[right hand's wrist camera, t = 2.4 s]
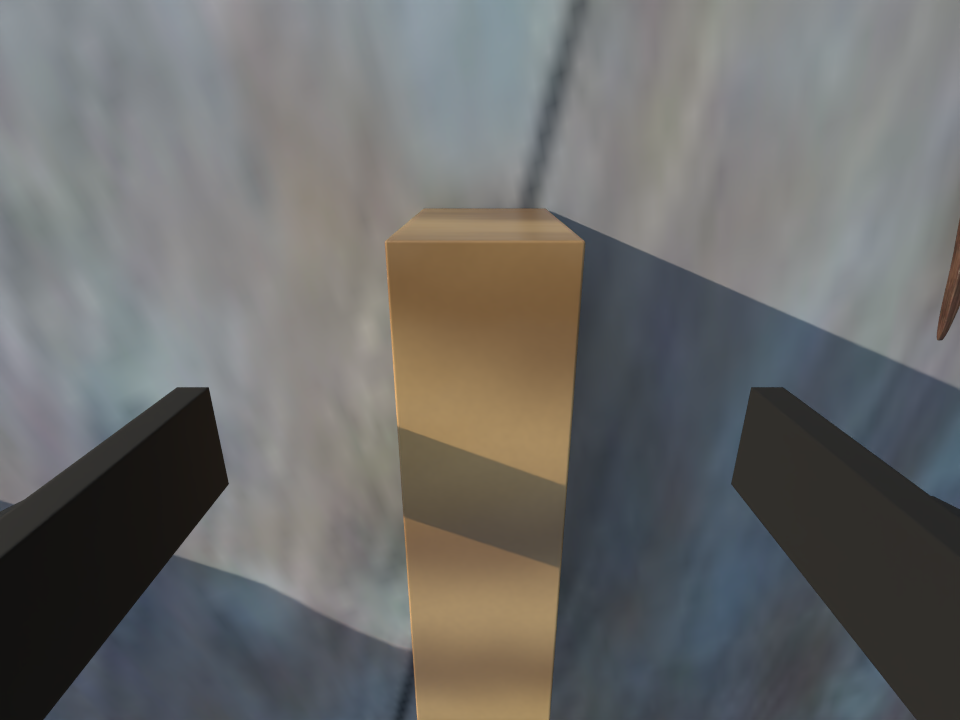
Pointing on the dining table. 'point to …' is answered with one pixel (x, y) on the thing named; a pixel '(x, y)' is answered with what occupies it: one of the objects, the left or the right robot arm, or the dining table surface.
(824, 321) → the dining table surface
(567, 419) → the bar
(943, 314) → the fork
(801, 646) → the dining table surface
